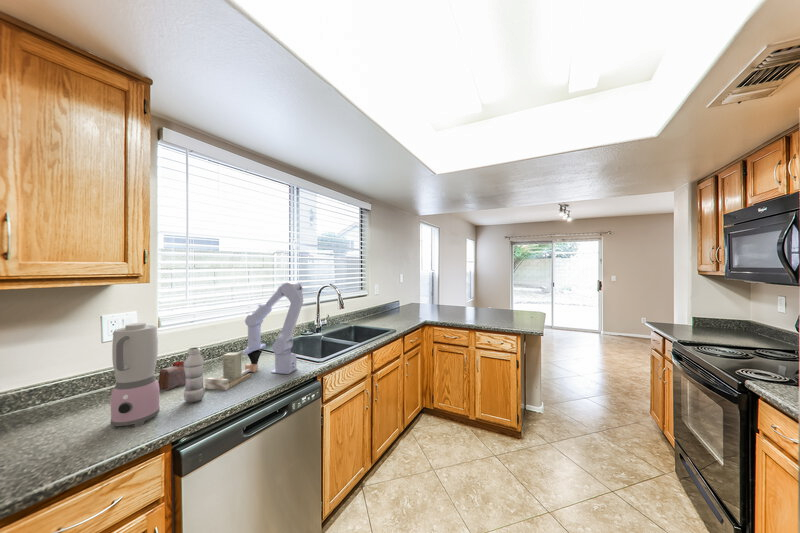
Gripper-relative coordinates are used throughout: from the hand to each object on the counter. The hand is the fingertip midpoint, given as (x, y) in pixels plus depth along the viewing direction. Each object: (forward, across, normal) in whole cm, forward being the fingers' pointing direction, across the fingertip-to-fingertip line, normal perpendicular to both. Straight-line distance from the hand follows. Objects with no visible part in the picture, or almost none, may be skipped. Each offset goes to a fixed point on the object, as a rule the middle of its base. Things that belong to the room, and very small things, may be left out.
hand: (254, 365), depth 147 cm
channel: (+2, +15, 0) cm, 16 cm away
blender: (+2, +52, -5) cm, 52 cm away
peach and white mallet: (+2, +7, 0) cm, 7 cm away
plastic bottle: (+2, +35, +1) cm, 35 cm away
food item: (+2, +22, -20) cm, 30 cm away
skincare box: (+2, +14, 0) cm, 15 cm away
